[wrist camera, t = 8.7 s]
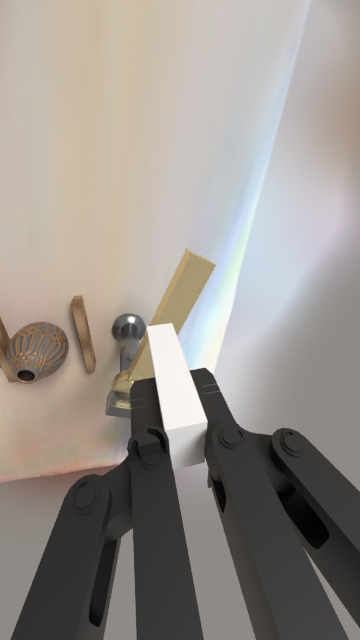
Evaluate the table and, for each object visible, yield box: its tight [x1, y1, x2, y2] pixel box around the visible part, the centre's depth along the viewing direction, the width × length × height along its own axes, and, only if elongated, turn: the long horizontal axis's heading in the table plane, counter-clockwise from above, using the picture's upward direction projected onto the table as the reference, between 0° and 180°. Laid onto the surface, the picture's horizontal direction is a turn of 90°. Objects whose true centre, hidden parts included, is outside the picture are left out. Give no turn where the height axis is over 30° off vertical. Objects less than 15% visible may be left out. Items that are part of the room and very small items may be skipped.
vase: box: [7, 322, 69, 384], centre depth 30 cm, size 7×7×9 cm
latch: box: [106, 248, 216, 418], centre depth 21 cm, size 5×18×4 cm, turn 154°
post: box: [113, 314, 145, 373], centre depth 31 cm, size 5×5×12 cm
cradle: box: [0, 296, 96, 382], centre depth 32 cm, size 12×12×2 cm
